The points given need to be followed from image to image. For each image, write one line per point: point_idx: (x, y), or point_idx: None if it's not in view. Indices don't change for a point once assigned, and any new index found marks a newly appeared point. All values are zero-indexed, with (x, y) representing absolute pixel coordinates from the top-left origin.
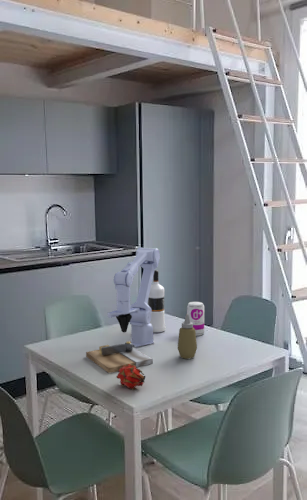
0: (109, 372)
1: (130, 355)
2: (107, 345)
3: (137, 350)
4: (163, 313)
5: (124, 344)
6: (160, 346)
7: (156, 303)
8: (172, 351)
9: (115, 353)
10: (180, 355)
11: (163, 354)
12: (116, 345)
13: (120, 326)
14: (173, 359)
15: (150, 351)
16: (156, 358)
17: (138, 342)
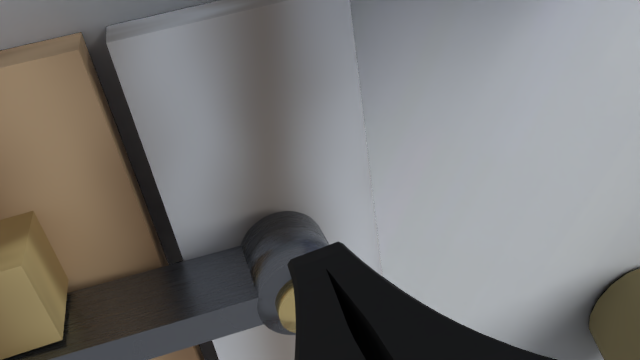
0: None
1: (258, 341)
2: (9, 288)
3: (368, 232)
4: None
5: (243, 330)
6: (636, 36)
7: None
8: (626, 188)
9: (119, 275)
10: (596, 327)
11: (537, 234)
12: (134, 351)
13: (298, 323)
14: (533, 331)
15: (492, 144)
16: (450, 301)
17: None
